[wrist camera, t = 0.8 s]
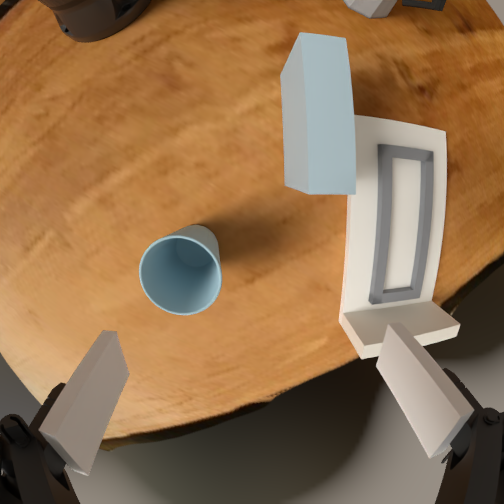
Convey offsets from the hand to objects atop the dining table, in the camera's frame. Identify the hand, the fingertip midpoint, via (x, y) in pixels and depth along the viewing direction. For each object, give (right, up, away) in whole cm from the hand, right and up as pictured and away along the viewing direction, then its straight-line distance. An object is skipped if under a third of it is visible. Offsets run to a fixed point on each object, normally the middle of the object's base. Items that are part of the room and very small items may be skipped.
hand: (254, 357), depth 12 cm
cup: (-7, +6, +22) cm, 24 cm away
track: (+20, +9, +22) cm, 31 cm away
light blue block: (+6, +20, +18) cm, 27 cm away
